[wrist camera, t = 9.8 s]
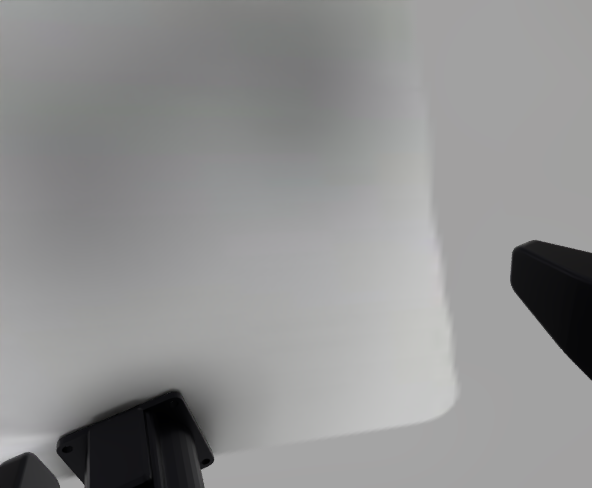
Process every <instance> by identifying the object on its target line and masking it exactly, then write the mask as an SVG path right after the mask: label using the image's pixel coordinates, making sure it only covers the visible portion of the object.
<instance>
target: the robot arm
mask: <svg viewBox="0 0 592 488" xmlns="http://www.w3.org/2000/svg"><path fill="white" fill-rule="evenodd" d="M510 282H511V286H512V288H513V290H514V292H515V293H516V294H517V295H518V297H519V298H520V299H521V300H522V302H523V303H524V304H525V305H526V307H527V308H528V309H529V310H530V311H531V313H532V314H533V315H534V316H535V318H536V319H537V320H538V321H539V322H540V324H541V325H542V326H543V327H544V329H545V330H546V331H547V332H548V334H549V335H550V336H551V337H552V339H553V340H554V341H555V342H556V343H557V345H558V346H559V347H560V348H561V349H562V350H563V352H564V353H565V354H566V355H567V356H568V357H569V358H570V359H571V360H572V361H573V362H574V363H575V364H576V365H577V366H578V367H579V368H580V369H581V370H582V371H583V372H584V373H585V374H586V375H587V376H588V377H589V378H590V379H591V380H592V253H590V252H585V251H581V250H576V249H572V248H568V247H564V246H559V245H555V244H551V243H546V242H542V241H537V240H532V241H529V242H526V243H524V244H522V245H519V246H517V247H515V248H514V250H513V252H512V261H511V275H510ZM172 401H174V402H172ZM56 451H57V454H58V455H59V456H60V457H61V458H62V459H63V461H64V462H65V463H66V464H67V465H68V466H69V468H70V469H71V470H72V471H73V472H74V473H75V474H76V476H77V477H78V478H79V479H80V480H81V481H82V482H83V484H84V485H85V488H204V483H203V478H202V473H201V469H203V468H205V467H208V466H209V465H211V464H212V463H213V462H214V457H213V452H212V450H211V449H210V447H209V445H208V443H207V441H206V439H205V437H204V436H203V434H202V432H201V430H200V428H199V426H198V424H197V423H196V421H195V419H194V417H193V415H192V413H191V411H190V409H189V408H188V406H187V404H186V402H185V400H184V398H183V396H182V395H181V394H180V393H179V392H170V393H167V394H165V395H163V396H160V397H158V398H156V399H153V400H151V401H148V402H146V403H144V404H141V405H139V406H137V407H134V408H132V409H129V410H127V411H125V412H122V413H120V414H117V415H115V416H113V417H110V418H108V419H106V420H103V421H101V422H98V423H96V424H94V425H91V426H89V427H87V428H84V429H82V430H79V431H77V432H75V433H72V434H70V435H67V436H65V437H63V438H61V439H60V440H59V441H58V442H57V450H56ZM0 488H60V485H59V483H58V480H57V479H56V477H55V476H54V475H53V474H52V472H51V471H50V470H49V469H48V468H47V467H46V466H45V465H44V464H43V463H42V462H41V461H40V459H39V458H38V457H37V456H36V455H35V454H33V453H31V452H27V453H23V454H21V455H18V456H16V457H14V458H11V459H9V460H7V461H5V462H3V463H2V464H1V465H0Z"/></svg>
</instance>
